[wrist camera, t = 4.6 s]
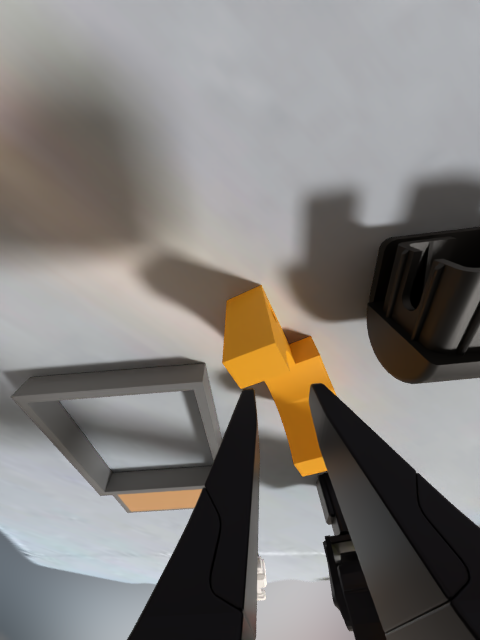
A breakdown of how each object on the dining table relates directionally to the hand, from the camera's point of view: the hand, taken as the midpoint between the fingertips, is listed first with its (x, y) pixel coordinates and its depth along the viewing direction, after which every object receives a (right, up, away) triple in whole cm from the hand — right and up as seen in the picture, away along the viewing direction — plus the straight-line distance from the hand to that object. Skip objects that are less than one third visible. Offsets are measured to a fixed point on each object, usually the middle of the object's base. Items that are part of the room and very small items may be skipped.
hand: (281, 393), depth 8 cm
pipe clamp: (+2, 0, +10) cm, 10 cm away
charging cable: (+2, -56, +45) cm, 72 cm away
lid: (-10, -19, +22) cm, 31 cm away
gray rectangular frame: (-11, -9, +15) cm, 20 cm away
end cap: (+12, +5, +7) cm, 15 cm away
